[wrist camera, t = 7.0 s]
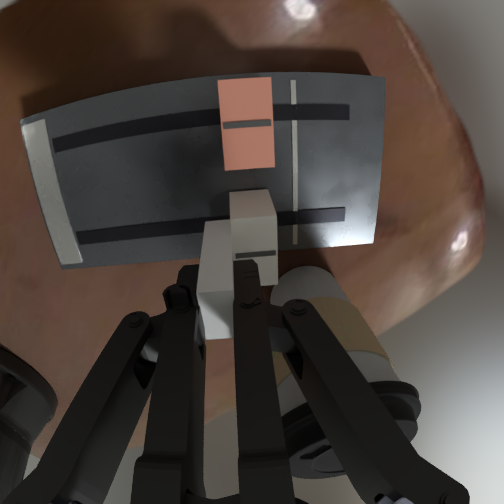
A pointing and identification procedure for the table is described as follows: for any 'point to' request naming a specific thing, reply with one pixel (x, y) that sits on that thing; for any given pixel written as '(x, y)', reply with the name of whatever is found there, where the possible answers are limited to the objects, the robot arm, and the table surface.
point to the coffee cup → (363, 355)
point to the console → (204, 167)
